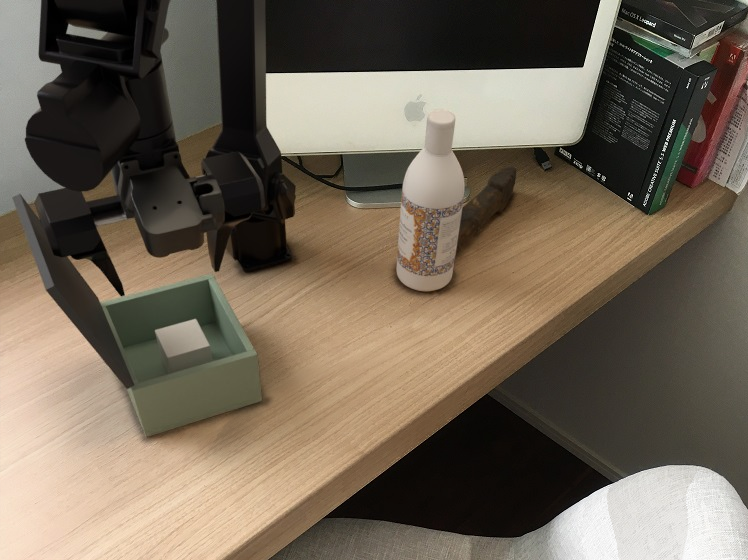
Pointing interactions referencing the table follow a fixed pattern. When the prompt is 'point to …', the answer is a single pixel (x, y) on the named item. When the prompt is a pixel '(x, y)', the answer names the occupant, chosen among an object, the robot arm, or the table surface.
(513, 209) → the table surface
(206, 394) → the open box
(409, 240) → the bath foam
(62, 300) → the box lid
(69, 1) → the robot arm
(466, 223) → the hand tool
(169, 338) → the white block
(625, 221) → the table surface
